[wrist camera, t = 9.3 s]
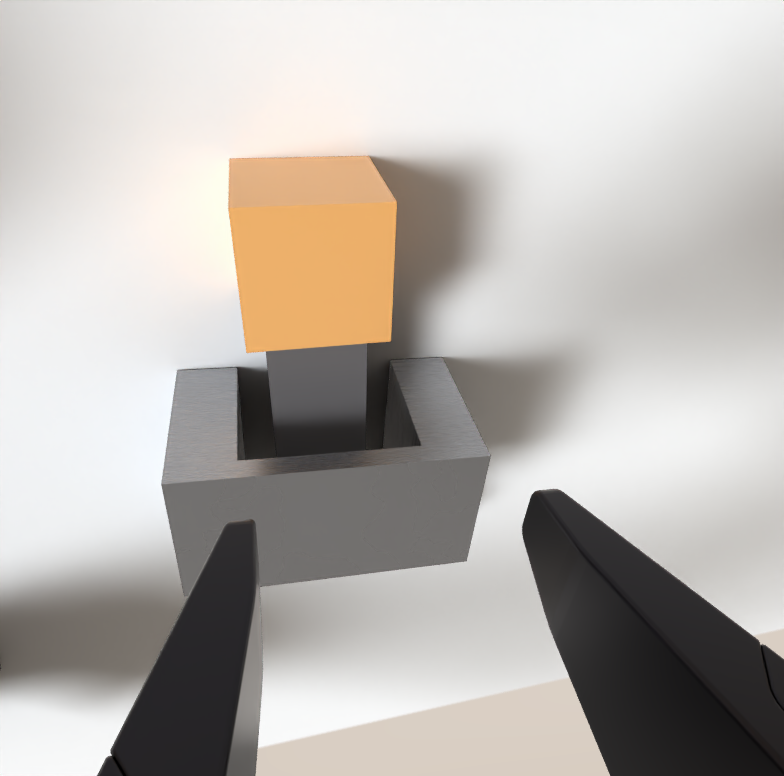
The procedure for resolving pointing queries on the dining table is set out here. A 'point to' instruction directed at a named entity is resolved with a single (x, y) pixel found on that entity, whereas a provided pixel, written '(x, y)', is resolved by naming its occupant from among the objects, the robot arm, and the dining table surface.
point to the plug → (314, 289)
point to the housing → (327, 483)
